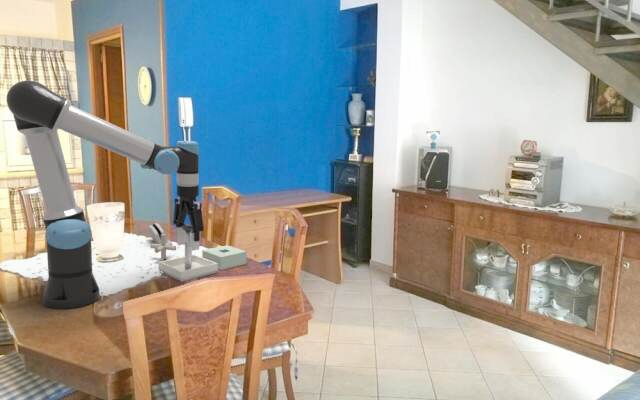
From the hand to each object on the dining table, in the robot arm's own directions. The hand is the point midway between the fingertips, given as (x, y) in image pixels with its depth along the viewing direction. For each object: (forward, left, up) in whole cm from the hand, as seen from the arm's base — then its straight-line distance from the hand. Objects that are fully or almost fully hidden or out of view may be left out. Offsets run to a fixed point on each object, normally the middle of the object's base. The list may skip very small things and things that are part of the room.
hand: (188, 247), depth 170 cm
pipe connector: (+1, +19, -10) cm, 21 cm away
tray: (0, 0, -9) cm, 9 cm away
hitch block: (+16, 0, -9) cm, 19 cm away
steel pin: (0, 0, -8) cm, 8 cm away
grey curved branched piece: (+12, +41, -10) cm, 44 cm away
